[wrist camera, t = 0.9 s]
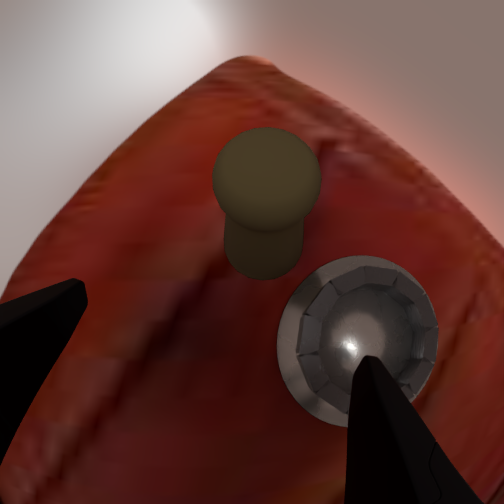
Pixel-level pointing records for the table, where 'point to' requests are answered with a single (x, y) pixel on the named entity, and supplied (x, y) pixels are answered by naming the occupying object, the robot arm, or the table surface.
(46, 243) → the table surface
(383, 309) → the iron collar
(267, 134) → the cork
